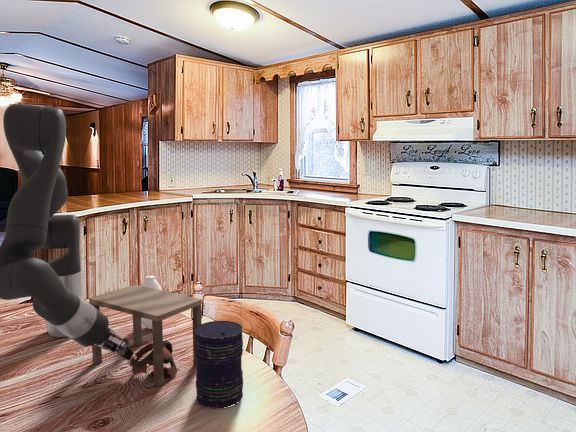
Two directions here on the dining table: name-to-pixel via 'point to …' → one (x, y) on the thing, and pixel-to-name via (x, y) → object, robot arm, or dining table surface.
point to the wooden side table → (148, 317)
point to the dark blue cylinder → (219, 364)
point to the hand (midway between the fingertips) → (129, 355)
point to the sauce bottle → (153, 284)
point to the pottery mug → (142, 364)
